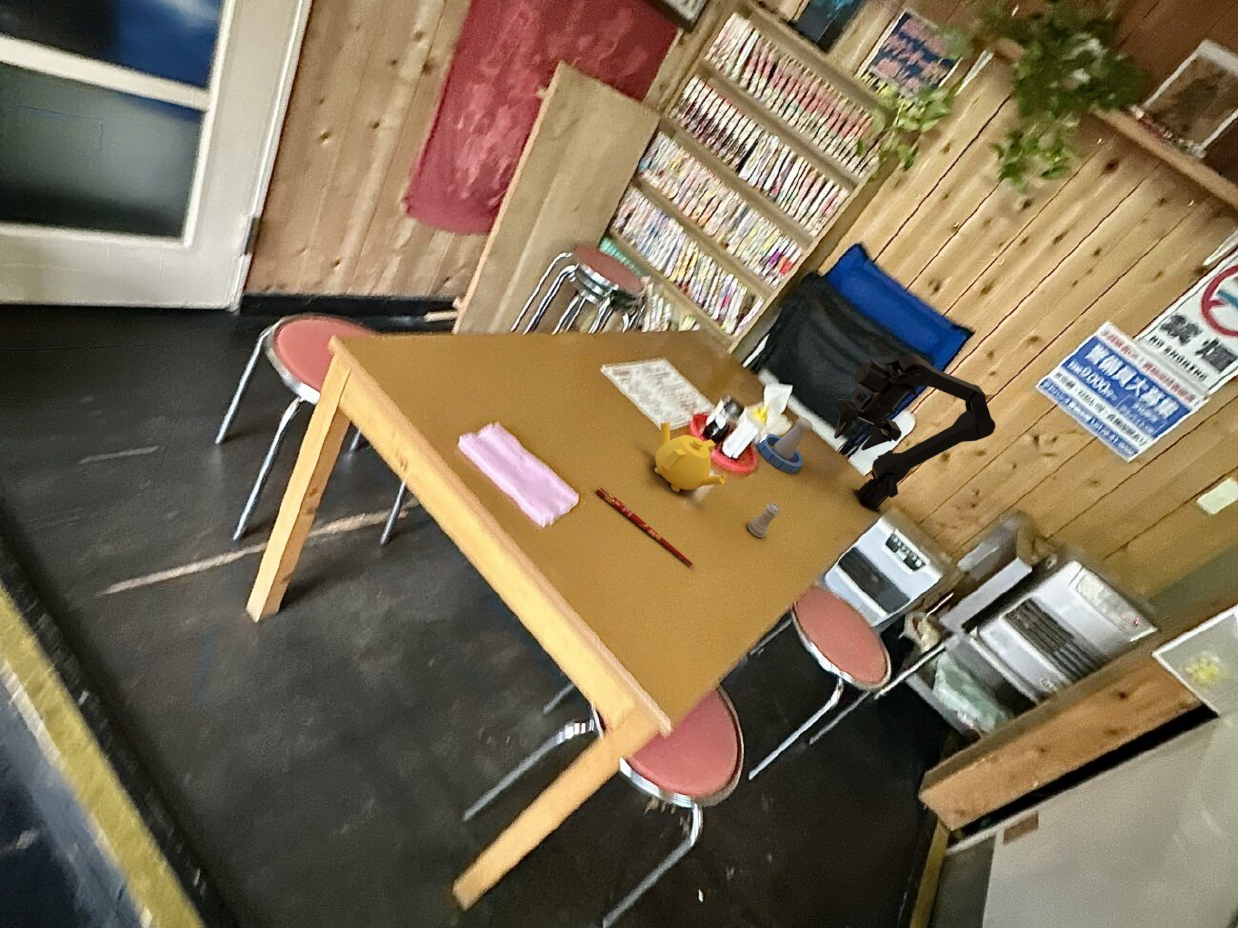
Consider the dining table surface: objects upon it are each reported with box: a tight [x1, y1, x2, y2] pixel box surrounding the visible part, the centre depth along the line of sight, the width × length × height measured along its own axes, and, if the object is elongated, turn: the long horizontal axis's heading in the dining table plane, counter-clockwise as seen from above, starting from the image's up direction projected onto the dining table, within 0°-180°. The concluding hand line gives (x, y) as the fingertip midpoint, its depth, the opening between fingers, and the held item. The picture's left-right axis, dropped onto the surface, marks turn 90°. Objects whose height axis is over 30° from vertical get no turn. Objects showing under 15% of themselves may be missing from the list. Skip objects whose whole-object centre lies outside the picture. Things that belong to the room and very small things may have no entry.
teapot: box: [654, 422, 726, 493], centre depth 165 cm, size 20×18×11 cm
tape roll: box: [757, 433, 804, 474], centre depth 202 cm, size 13×13×2 cm
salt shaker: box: [772, 416, 813, 461], centre depth 199 cm, size 6×6×13 cm
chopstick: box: [595, 486, 694, 567], centre depth 148 cm, size 2×24×1 cm, turn 61°
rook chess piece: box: [747, 502, 781, 538], centre depth 166 cm, size 4×4×8 cm
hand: (848, 443), depth 198 cm, fingers open, 9 cm apart
